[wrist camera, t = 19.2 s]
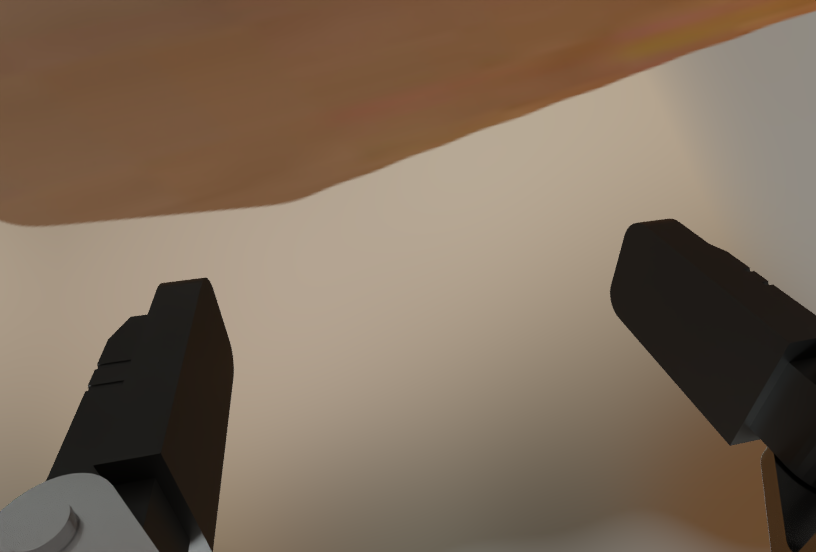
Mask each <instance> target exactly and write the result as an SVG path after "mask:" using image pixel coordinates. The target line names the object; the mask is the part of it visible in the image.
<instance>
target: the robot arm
mask: <svg viewBox="0 0 816 552" xmlns="http://www.w3.org/2000/svg"><path fill="white" fill-rule="evenodd" d="M610 297H611V303H612V306H613V309H614V311H615V313H616V315H617V316H618V317H619V318H620V320H621V321H622V322H623V323H624V324H625V325H626V327H627V328H628V329H629V330H630V331H631V332H632V333H633V335H634V336H635V337H636V338H637V339H638V340H639V342H640V343H641V344H642V345H643V346H644V347H645V348H646V350H647V351H648V352H649V353H650V354H651V355H652V356H653V358H654V359H655V360H656V361H657V362H658V363H659V365H660V366H661V367H662V368H663V369H664V370H665V371H666V373H667V374H668V375H669V376H670V377H671V378H672V380H673V381H674V382H675V383H676V384H677V385H678V386H679V388H681V390H682V391H683V392H684V393H685V394H686V396H687V397H688V398H689V399H690V400H691V401H692V402H693V404H694V405H695V406H696V407H697V408H698V409H699V411H700V412H701V413H702V414H703V415H704V416H705V418H706V419H707V420H708V421H709V422H710V423H711V424H712V426H713V427H714V428H715V429H716V430H717V431H718V432H719V434H720V435H721V436H722V437H723V438H724V439H725V441H727V443H728V444H729V445H730V446H731V445H735V444H740V443H745V442H749V441H754V440H759V439H761V440H762V441H763V442H764V443H765V444H766V445H767V446H768V447H767V448H766V450H765V451H764V453H763V454H762V457H761V470H762V479H763V487H764V496H765V504H766V513H767V521H768V530H769V538H770V547H771V552H816V315H815V314H813V313H812V312H810V311H809V310H808V309H806V308H805V307H804V306H802V305H801V304H799V303H798V302H797V301H795V300H793V299H792V298H791V297H790V296H788V295H787V294H785V293H784V292H783V291H781V290H780V289H778V288H777V287H776V286H774V285H769V284H768V281H767V280H766V279H764V278H763V277H762V276H760V275H759V274H757V273H756V272H755V271H753V272H751V271H750V268H749V267H748V266H746V265H745V264H744V263H742V262H741V261H740V260H738V259H736V258H735V257H734V256H732V255H731V254H730V253H728V252H727V251H724V250H722V249H720V248H717V247H715V246H713V245H711V244H708V243H707V242H706V241H704V240H703V239H702V238H700V237H699V236H698V235H696V234H694V233H693V232H692V231H691V230H689V229H688V228H687V227H685V226H684V225H683V224H681V223H680V222H678V221H677V220H674V219H664V220H656V221H649V222H640V223H635V224H632V225H631V226H630V227H629V228H628V229H627V231H626V233H625V236H624V240H623V243H622V247H621V251H620V254H619V258H618V262H617V265H616V270H615V273H614V277H613V280H612V284H611V289H610ZM233 374H234V366H233V355H232V349H231V345H230V341H229V338H228V335H227V331H226V329H225V325H224V322H223V319H222V316H221V312H220V309H219V306H218V303H217V300H216V297H215V294H214V291H213V287H212V285H211V283H210V281H209V280H208V278H200V279H191V280H184V281H176V282H168V283H161V284H160V285H159V286H158V288H157V290H156V293H155V296H154V299H153V301H152V304H151V307H150V310H149V312H148V315H142V316H134V317H130V318H129V319H128V320H127V321H126V322H125V323H124V324H123V325H122V326H121V327H120V328H119V329H118V330H117V331H116V332H115V333H114V334H113V335H112V336H111V337H110V338H109V339H108V341H107V344H106V346H105V348H104V350H103V353H102V355H101V357H100V359H99V362H98V369H96V370H95V371H94V373H93V375H92V378H91V380H90V382H89V385H88V388H89V390H88V391H86V392H85V394H84V396H83V398H82V400H81V403H80V405H79V407H78V410H77V412H76V414H75V416H74V419H73V421H72V423H71V426H70V428H69V430H68V433H67V435H66V437H65V439H64V441H63V444H62V446H61V449H60V451H59V453H58V455H57V458H56V460H55V462H54V464H53V467H52V469H51V471H50V474H49V476H48V478H47V480H46V481H45V482H43V483H41V484H39V485H37V486H35V487H33V488H31V489H30V490H28V491H26V492H25V493H23V494H22V495H20V496H19V497H17V498H16V499H14V500H13V501H12V502H11V503H10V504H8V505H7V506H6V507H5V508H3V509H2V510H1V511H0V552H213V545H214V536H215V528H216V520H217V511H218V503H219V494H220V486H221V477H222V469H223V460H224V452H225V444H226V435H227V434H226V433H227V427H228V418H229V410H230V401H231V392H232V384H233Z"/></svg>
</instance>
